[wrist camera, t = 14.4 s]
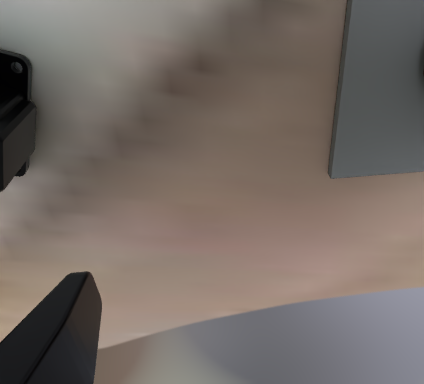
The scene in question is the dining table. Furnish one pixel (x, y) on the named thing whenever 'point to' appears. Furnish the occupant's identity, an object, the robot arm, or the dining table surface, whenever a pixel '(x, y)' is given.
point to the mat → (380, 90)
